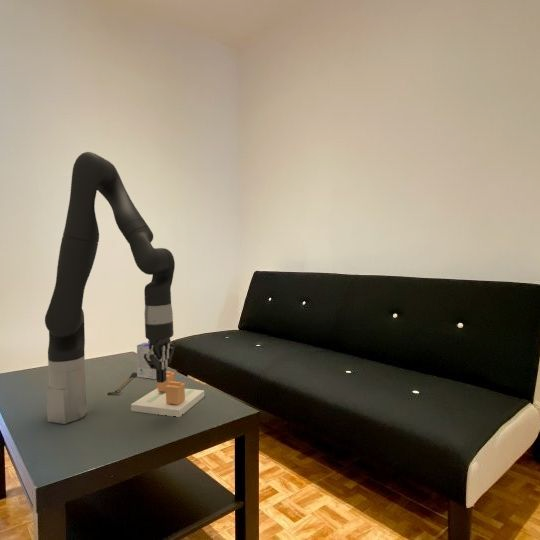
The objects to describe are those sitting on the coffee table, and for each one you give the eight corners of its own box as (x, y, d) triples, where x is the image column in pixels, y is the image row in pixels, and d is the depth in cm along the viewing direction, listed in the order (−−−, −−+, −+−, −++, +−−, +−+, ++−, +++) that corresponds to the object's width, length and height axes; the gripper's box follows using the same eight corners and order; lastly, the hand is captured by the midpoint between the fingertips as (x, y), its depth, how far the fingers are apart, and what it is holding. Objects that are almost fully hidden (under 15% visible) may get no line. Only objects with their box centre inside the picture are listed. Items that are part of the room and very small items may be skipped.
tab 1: (168, 392, 125) (168, 374, 124) (157, 390, 126) (157, 373, 125) (175, 387, 128) (174, 370, 128) (164, 386, 129) (163, 369, 129)
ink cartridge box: (167, 375, 148) (166, 337, 147) (159, 380, 143) (158, 340, 142) (145, 372, 151) (144, 335, 150) (136, 377, 146) (135, 339, 145)
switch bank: (179, 417, 111) (179, 410, 111) (131, 411, 116) (130, 404, 116) (204, 396, 127) (204, 390, 126) (160, 391, 131) (160, 385, 131)
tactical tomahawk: (126, 398, 128) (126, 395, 128) (106, 396, 128) (106, 393, 128) (149, 376, 149) (149, 373, 149) (131, 374, 149) (132, 372, 149)
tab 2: (178, 404, 115) (177, 385, 114) (166, 403, 116) (165, 383, 115) (184, 399, 118) (184, 380, 118) (173, 398, 120) (172, 379, 119)
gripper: (157, 325, 101) (160, 391, 102) (182, 316, 114) (185, 374, 115) (132, 324, 103) (135, 389, 104) (159, 315, 116) (162, 373, 117)
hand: (161, 381), depth 109 cm, fingers closed
